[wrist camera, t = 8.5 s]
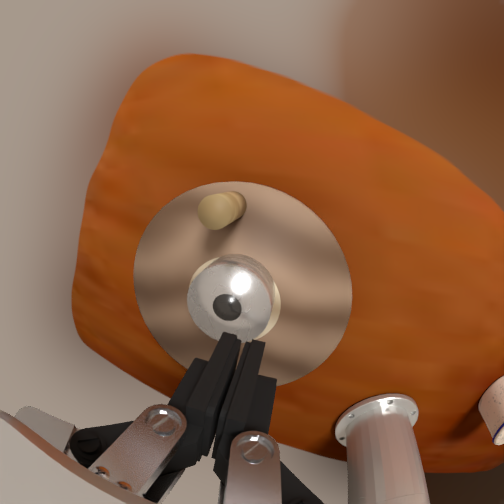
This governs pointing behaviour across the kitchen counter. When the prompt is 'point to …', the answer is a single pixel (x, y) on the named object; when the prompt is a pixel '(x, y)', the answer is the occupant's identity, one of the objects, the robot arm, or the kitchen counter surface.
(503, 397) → the teacup with lid
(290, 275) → the disc
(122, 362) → the kitchen counter surface
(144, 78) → the kitchen counter surface
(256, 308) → the cover
